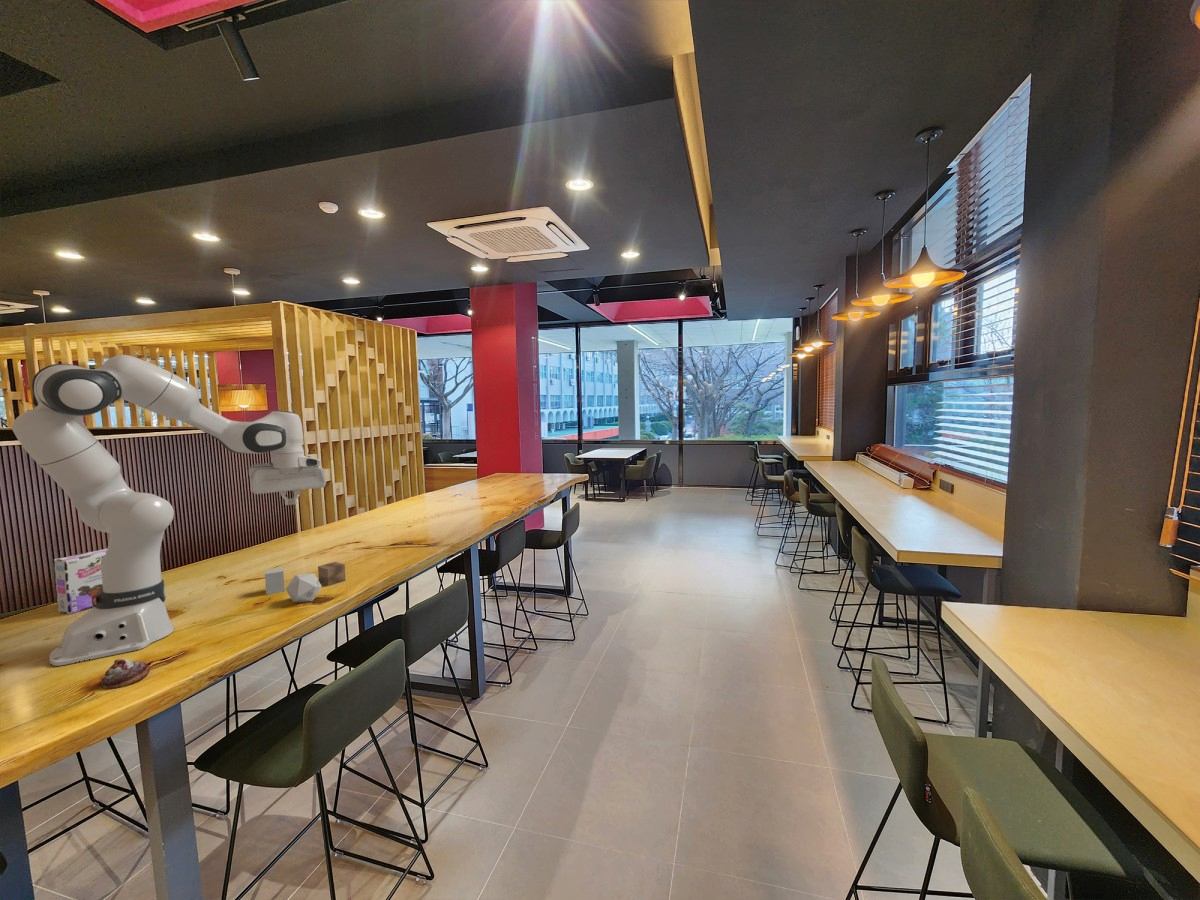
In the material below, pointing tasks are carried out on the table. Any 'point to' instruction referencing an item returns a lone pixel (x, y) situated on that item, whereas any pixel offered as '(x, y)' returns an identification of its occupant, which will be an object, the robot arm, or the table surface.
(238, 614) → the table surface
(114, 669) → the pastry
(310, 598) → the die
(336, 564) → the walnut cube
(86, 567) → the candy box
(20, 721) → the table surface
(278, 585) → the grey plastic block
